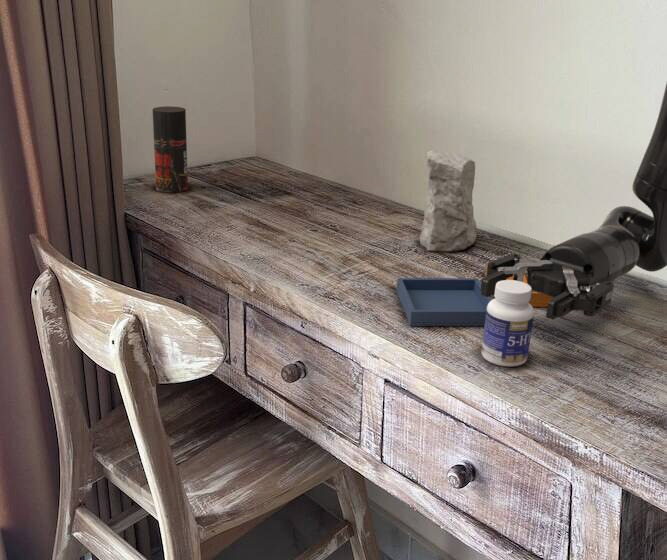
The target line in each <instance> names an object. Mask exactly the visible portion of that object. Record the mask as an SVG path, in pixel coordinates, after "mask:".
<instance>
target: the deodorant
mask: <svg viewBox="0 0 667 560" xmlns="http://www.w3.org/2000/svg"><path fill="white" fill-rule="evenodd" d="M186 111H187V109H186V108H184V107H181V106H172V105H171V106H168V105H167V106H166V105H165V106H157V107H153V108H152V127H153V128H152V131H153V150H154V152H153V153H154V170H155V171H154V172H155V173H154V174H155V189H156V190H157V191H158V192H161V193H167V194H168V193H170V194H175V193H182V192H185V191H187V190H188V189H189V181H188V179H189V178H188V149H187V148H188V147H187V114H186V113H187V112H186Z"/></svg>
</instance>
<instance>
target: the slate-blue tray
mask: <svg viewBox="0 0 667 560" xmlns="http://www.w3.org/2000/svg"><path fill="white" fill-rule="evenodd" d="M481 282H482V281H480V280H479V278H474V277H472V278H471V277H468V278H467V277H465V278H463V277H462V278H461V277H455V278H454V277H452V278H451V277H397V278H396V294H397V296H398V299H399V301H400V305H401V306H402V309H403V312H404V314H405V316H406V318H407V321H408V324H409V327H484V326H485V318H486V310H487V305H488V303H489V302H490V301H491V300H493V299H492V296H489V297H486V296H483V295H482V294H481Z"/></svg>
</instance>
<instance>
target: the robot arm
mask: <svg viewBox="0 0 667 560" xmlns="http://www.w3.org/2000/svg"><path fill="white" fill-rule="evenodd" d="M653 128H654V129H653V131H652V134H651V137H650V140H649V142H648V145H647V147H646V149H645V152H644V154H643V157H642V159H641V162H640V164H639V167H638V169H637V172H636V174H635V176H634V179H633V182H632V185H631V186H632V187H631V188H632V192H633V194H634V195H635V197H636V198H637V199H638V200H640V202H642V203H643V204H644V205H645V206H646V207H647V208H648V209H649V210H650V212H651V213H652V216H651V215H650V214H647V213H646V212H643V211H642V210H639V209H637V208H635V207H633V206H628V205H620V206H616V207H614V208H613V209H611V211H609V213H608V214H607V216H606V217H605V218H604V220H603V221H602V224H601V225H600V226H599V227H598V228H596V229H594V230H592V231H590V232H586V233H582V234H578V235H576V236H574V237H572V238H569V239H567V240H565V241H562V242H560V243H558V244H555V245H554V246H552V247H550V248H549V249H548V250H547V251H545V253H544V254H543V256H542V257H541V258H540V259H539V260H534V261H528V262H523V261H520V260H521V255H520V254H518V253H511V254H508V255H505V256H502V257H499V258H496V259H494V260H491V261H488V262H487V263H488V267H487V275H486V274H485V275H486V276H484V277H482V278H481V281H480V282H481V294H482V295H483V296H486V297H489V296H490V297H492V296H494V295H495V287H496V283H497V282H499V281H502V280H506V279H507V278H510V277H513V280H516V281H520V282H523V276H524V273H525V276H526V280H527V284H528V285H530V286H531V288H532V291H531V292H538V293H539V294H546V295H549V296H552V297H554V298H552V299H550V300H549V302H548V306H547V307H546V313H545V314H546V315H545V317H546V318H547V319H549V320H555V319H557V318H563V317H564V316H566V315H567V314H576V313H577V312H578V311H581V312H582V314H583V315H584V316H586V317H594V316H596V315H597V314H598V313H600V312H601V311H603V310H604V309H605V308H606V307H608V306H609V305H610V304H611V302H612V297H613V291H614V285H615V283H613V282H615V280H617V279H619V278H621V277H622V276H624V275H626V274H628V273H629V272H631V271H632V270H633V269H634V268H635V267H638V268H639V269H642V270H644V271H646V272H651V273H652V272H657V271H661V270H663V269H664V268H666V267H667V82H666V85H665V87H664V91H663V96H662V99H661V105H660V108H659V112H658V116H657V119H656V122H655V125H654V127H653Z"/></svg>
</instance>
